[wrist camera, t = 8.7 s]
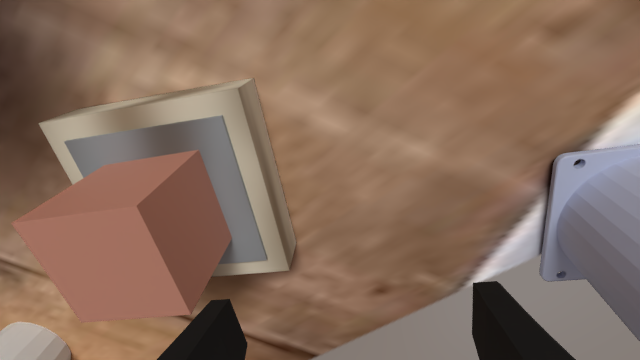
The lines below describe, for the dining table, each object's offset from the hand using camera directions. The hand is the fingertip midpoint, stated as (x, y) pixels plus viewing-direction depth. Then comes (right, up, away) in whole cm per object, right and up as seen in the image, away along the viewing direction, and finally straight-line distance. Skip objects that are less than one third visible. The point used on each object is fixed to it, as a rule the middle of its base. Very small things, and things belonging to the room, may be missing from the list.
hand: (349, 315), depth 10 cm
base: (-8, +4, +9) cm, 13 cm away
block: (-8, +3, +7) cm, 11 cm away
